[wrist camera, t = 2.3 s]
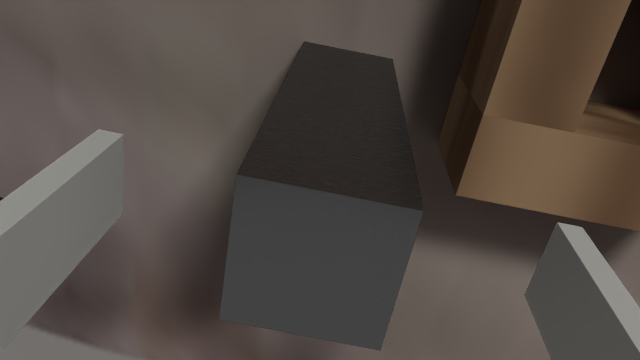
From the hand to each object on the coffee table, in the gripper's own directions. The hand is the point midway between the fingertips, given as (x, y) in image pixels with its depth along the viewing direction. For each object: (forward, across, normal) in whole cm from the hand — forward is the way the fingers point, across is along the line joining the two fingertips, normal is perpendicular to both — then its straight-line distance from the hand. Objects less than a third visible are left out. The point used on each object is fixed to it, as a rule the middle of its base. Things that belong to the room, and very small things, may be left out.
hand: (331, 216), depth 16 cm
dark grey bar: (+12, 0, 0) cm, 12 cm away
